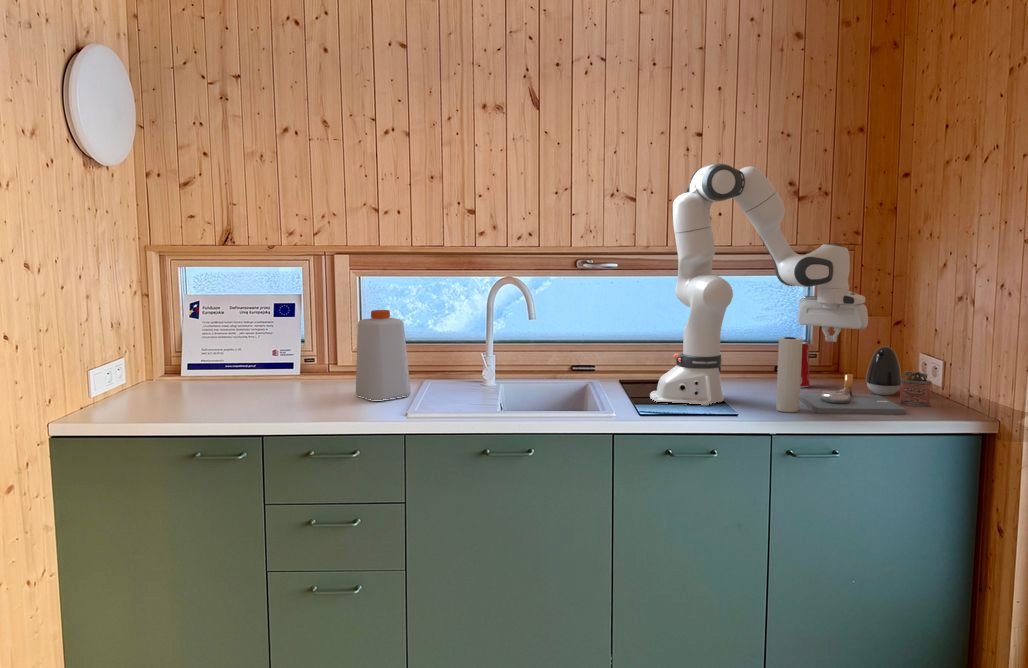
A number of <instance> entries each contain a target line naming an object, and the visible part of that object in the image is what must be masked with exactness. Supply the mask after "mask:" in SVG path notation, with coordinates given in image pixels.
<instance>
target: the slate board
mask: <svg viewBox="0 0 1028 668" xmlns="http://www.w3.org/2000/svg"><path fill="white" fill-rule="evenodd" d="M800 403H802V404H804V405H805V406H807V407H808V408H809V409H811V410H812V411H813V412H815V413H816V414H836V415H837V414H838V415H839V414H840V415H841V414H845V415H847V414H849V415H851V414H852V415H853V414H854V415H855V414H857V415H859V414H860V415H861V414H863V415H905V414H906V408H904V407H902V406H900V405H898V404H896V403H894V402H893V401H891V400H889V399H887V398H885V397H883V396H882V395H879V394H852V395H851V396H850V402H849V403H830V402H825V401H822V400H821V394H814V393H813V394H812V393H811V394H810V393H809V394H806V393H805V394H803V393H800Z"/></svg>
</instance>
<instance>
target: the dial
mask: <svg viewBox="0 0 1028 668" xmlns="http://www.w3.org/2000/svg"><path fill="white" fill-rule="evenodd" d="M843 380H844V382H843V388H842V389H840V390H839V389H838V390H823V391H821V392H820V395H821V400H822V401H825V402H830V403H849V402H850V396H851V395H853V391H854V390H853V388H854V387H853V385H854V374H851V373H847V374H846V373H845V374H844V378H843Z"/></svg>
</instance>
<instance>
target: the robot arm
mask: <svg viewBox="0 0 1028 668" xmlns="http://www.w3.org/2000/svg"><path fill="white" fill-rule="evenodd" d="M729 199H733V200H734V201H735V202H736V203H737V204H738V206H739V207H740V209H741V211H742V212H743V214H744V216H745V217H746V218H747V219H748V221H749V222H750V224H751V225H752V227H753V229H754V230H755V231H756V233H757V234H758V236H759V238H760V240H761V242H762V244H763V245H764V247H765V249H766V250H767V252H768V254H769V255H770V257H771V260H772V261H773V264H774V265H773V266H774V270H775V274H776V278H777V279H778V281H779V282H780V283H781V284H782V285H784V286H788V287H803V288H812V287H817V290H816V291H817V292H816V293H817V294H816V295H804V296H803V297H800V298H799V300H798V308H799V309H798V315H797V323H798V325H801V326H809V327H810V326H814V327H821V331H822V333H823V334H824V336H825V337H824V340H825V342H832V343H836V342H837V341H838V336H839V334H840V332H841V331H842V329H852V330H853V329H856V330H864V329H866V328H867V326H869V315H868V314H869V313H868V308H867V306H866V305H865V304H864V303H866V297H865V296H864V295H861V294H860V293H859V294H858V293H856V292H852V291H850V284H849V276H850V271H851V269H850V268H851V263H850V261H851V260H850V259H851V258H850V252H849V251H850V250H849V249H848V248H847V247H846V246H845V245H841V244H837V243H836V244H835V243H834V244H833V243H823V244H822V245H820V247H818V248H816V249H815V250H812V251H811V252H808V253H805V254H804V255H803V254H798V253H797V252H795V251H794V250H793V249H792V247H791V245H790V244H789V242H788V240H787V238H786V237H785V236H784V234H783V231H782V229H781V222H782V220H783V219H784V217H785V215H786V214H785V213H786V206H785V204H784V202H783V199H782V197H781V196H780V194H779V193H778V191H777V190H776V188H775V186H774V185H773V184H772V182H771V181H770V180H769V179H768V177H767V176H765V174H764V173H763V172H762V171H761V170H760V169H759V168H757V167H756V166H751V165H750V166H744V167H743V168H740V169H737V168H735V167H733V166H731V165H728V164H725V163H710V164H707V165H705V166H701V167H699V168H698V169H697V170H695V172H694V173H693V174H692V177H691V178H690V181H689V184H688V187H687V190H686V192H684V193H682V194H679V195H678V196H677V197H676V198H675V199H674V201H673V203H672V225H673V233H674V239H675V244H676V251H677V252H676V253H677V258H678V259H677V260H678V261H677V262H678V264H677V265H678V269H677V281H676V285H675V290H674V291H675V296H676V297H677V299H678V300H679V301H680V302H681V303H682V304H683V305H685V306H686V307H689V308H690V312H689V316H688V319H687V323H686V325H685V326H684V328H683V339H682V342H683V346H682V347H683V348H682V353H680V354H679V353H674V354H673V359H674V360H675V363H676V365H675V366H673V367H672V368H671V369H669V370H668V371H667V372H666V373H664V374H663V375H661V376H660V377H659V380H658V382H657V387H656V390H653V391H651V392H650V393H649V397H650V400H651V399H652V400H651V401H653V400H654V401H653V402H655V401H656V402H655V403H657V402H672V403H689V404H701V405H700V406H710V405H712V403H713V404H716V402H718V403H721V402H723V401H724V400H725V398H724V394H723V390H722V382H721V373H722V371H721V370H722V354H721V333H722V332H721V331H722V326H723V322H724V318H725V314H726V311H727V307H729V306H730V304H731V303H732V300H733V298H734V290H733V287H732V285H731V284H730V283H729V282H728V281H726V279H724V278H723V277H721V276H719V275H714V274H713V261H714V260H713V259H714V257H715V254H716V245H715V239H714V232H713V228H712V227H713V226H712V221H711V220H712V219H711V207H712V205H713V203H717V202H723V201H727V200H729ZM830 328H833V331H834V334H833V335H831V334H830V332H829V330H830ZM709 404H710V405H709Z"/></svg>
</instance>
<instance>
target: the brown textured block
mask: <svg viewBox="0 0 1028 668" xmlns="http://www.w3.org/2000/svg"><path fill="white" fill-rule="evenodd" d="M903 376H906V377H907V378H905V377H904V378H903V377H901V378H902V379H901V385H900V395H899V402H898V404H899V405H903V406H904V405H905V406H912V407H913V406H914V407H923V408H925V407H926V408H929V407H931V402H930V400H931V399H930V398H931V387H932V383H933V382H932V380H929V379H928V373H924V372H923V373H921V371H915V372H913V371H909V370H907V371H906V370H905V371H904V372H903ZM912 377H913V378H912Z"/></svg>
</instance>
